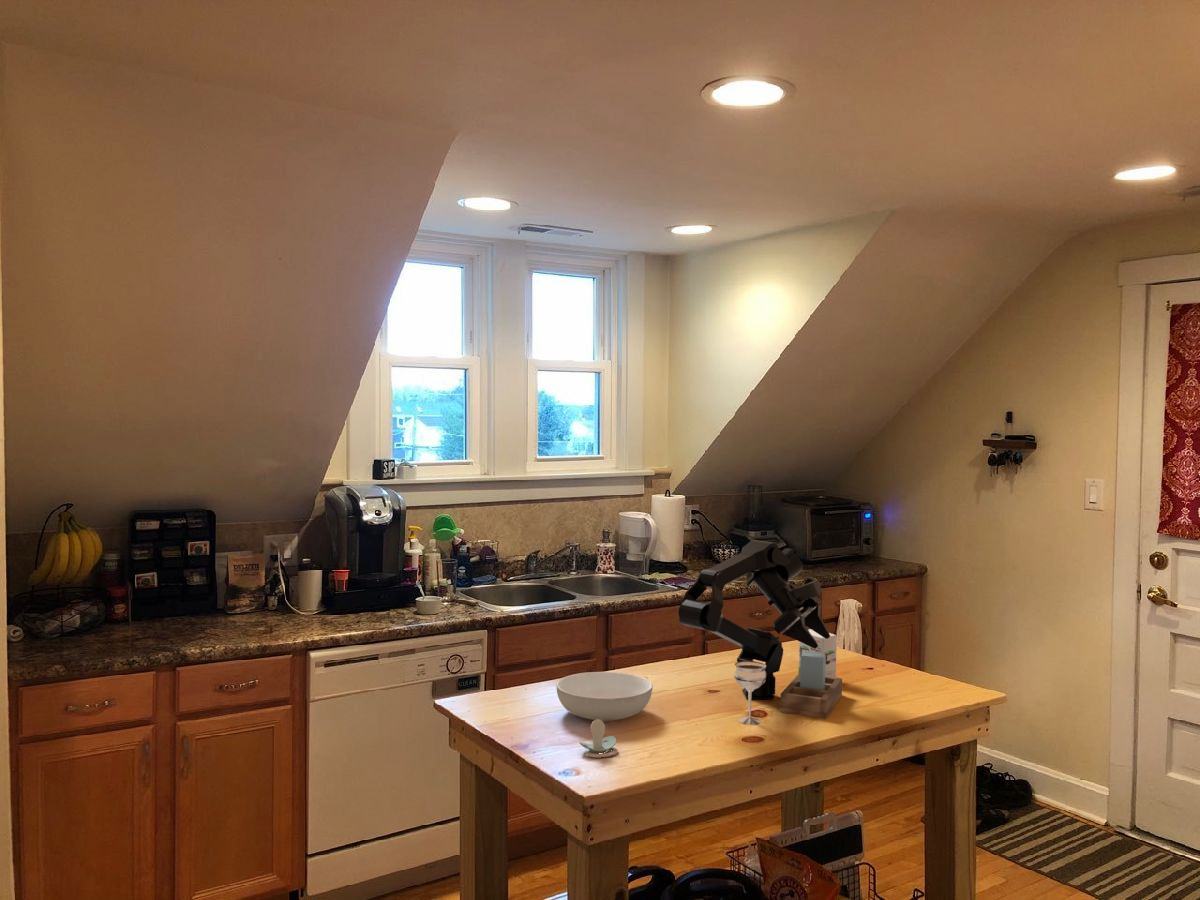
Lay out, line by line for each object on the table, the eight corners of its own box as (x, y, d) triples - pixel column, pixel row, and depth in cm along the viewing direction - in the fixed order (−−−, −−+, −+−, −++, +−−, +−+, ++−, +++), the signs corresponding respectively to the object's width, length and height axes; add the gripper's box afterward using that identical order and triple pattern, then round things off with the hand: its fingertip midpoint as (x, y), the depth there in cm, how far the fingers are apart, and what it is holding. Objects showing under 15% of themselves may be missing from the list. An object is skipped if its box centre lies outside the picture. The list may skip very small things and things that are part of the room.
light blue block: (799, 699, 210) (800, 655, 210) (802, 695, 213) (803, 652, 212) (822, 702, 208) (823, 658, 208) (824, 698, 211) (825, 655, 210)
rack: (780, 711, 204) (780, 693, 204) (799, 689, 221) (799, 672, 221) (825, 718, 200) (826, 700, 200) (841, 695, 217) (842, 678, 217)
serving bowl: (661, 705, 208) (661, 674, 208) (639, 735, 188) (640, 702, 187) (572, 696, 213) (572, 666, 213) (542, 725, 193) (542, 692, 193)
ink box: (797, 676, 232) (798, 630, 232) (811, 674, 235) (812, 628, 234) (822, 685, 225) (823, 637, 224) (836, 682, 228) (837, 635, 227)
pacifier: (624, 756, 177) (608, 745, 182) (625, 724, 176) (609, 714, 182) (590, 762, 173) (575, 751, 178) (591, 730, 173) (576, 719, 178)
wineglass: (754, 728, 193) (755, 671, 193) (727, 721, 197) (728, 665, 197) (771, 720, 198) (772, 664, 198) (744, 713, 203) (745, 659, 202)
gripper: (787, 574, 205) (836, 630, 200) (812, 561, 221) (858, 612, 216) (753, 606, 209) (800, 661, 204) (780, 590, 225) (825, 641, 220)
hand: (822, 642), depth 211 cm, fingers open, 9 cm apart
